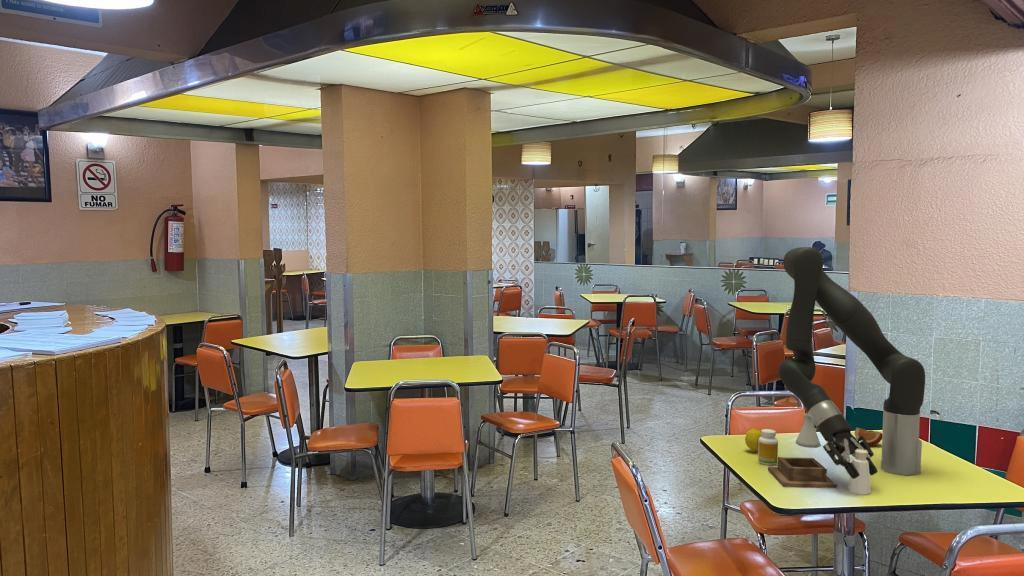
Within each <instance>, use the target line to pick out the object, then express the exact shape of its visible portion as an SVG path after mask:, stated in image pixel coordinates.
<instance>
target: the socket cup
mask: <svg viewBox="0 0 1024 576" xmlns="http://www.w3.org/2000/svg"><path fill="white" fill-rule="evenodd" d="M767 471H768V472H769V473H770V474H771V475H772V477H773V478H775V479H776V481H777V480H778V481H779V482H780V483H779V482H778V481H777V482H778V483H779V484H780V485H781V486H782V487H783V488H814V489H819V488H820V489H837V488H838V484H837V483H836V482H835V481H834V480H833V479H831V478H830V477H829V476H828V475H827V474H828V473H827V471H828V469H827V468H826V467H825V466H824V465H822V464H821V463H820V462H819V461H818V460H816V458H814V457H793V456H792V457H787V456H778V458H777V466H767Z"/></svg>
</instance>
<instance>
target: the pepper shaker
mask: <svg viewBox="0 0 1024 576" xmlns="http://www.w3.org/2000/svg"><path fill="white" fill-rule="evenodd" d="M855 453H856V454H855V456H856V457H854V458H853V459H852V461H851V462H852V463H853V465H854V466H855V468H856V469H857V471H858V473H859V476H858V477H857V478H855V479H852V477H851V476H850V475H849V480H848V487H847V489H848V491H849V492H850V493H852V494H855V495H863V496H867V495H870V494H871V493H872V491H871V478H870V477H871V475H870V474H869V463H868V461H867V460H866V456H867V455H866V454H867V453H868V452H867V450H861V449H858V448H857V450H855Z"/></svg>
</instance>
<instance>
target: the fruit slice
mask: <svg viewBox="0 0 1024 576" xmlns="http://www.w3.org/2000/svg"><path fill="white" fill-rule="evenodd" d="M860 436H863V437H864V439H865V440H866V442H867V443H868V445H869V446H875V445H878V444H879V443H880V442H882V432H880V431H875V430H871V429H869V430H867V429H865V428H861V427H857V426H856V427H855V430H854V437H855V438H859V437H860Z"/></svg>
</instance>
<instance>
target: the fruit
mask: <svg viewBox="0 0 1024 576" xmlns="http://www.w3.org/2000/svg"><path fill="white" fill-rule="evenodd" d="M761 432H762V431H760V430H759V429H758V428H757V427H756V426H754V427H753V428H752V429H750V430H748V431H747V432H746V434H745V436H744V441H745V445H746V446H747V448H748V449H749V450H751V451H752V452H753V453H758V449H759V438H760V437H762V435H761Z"/></svg>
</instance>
